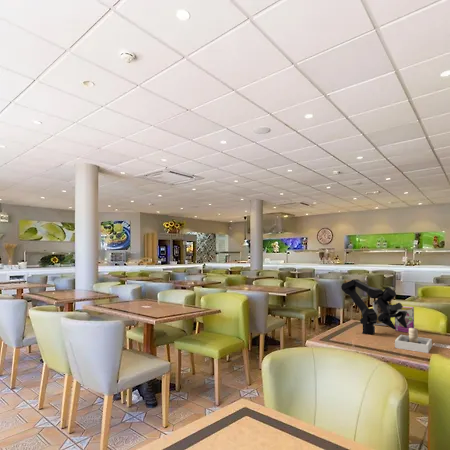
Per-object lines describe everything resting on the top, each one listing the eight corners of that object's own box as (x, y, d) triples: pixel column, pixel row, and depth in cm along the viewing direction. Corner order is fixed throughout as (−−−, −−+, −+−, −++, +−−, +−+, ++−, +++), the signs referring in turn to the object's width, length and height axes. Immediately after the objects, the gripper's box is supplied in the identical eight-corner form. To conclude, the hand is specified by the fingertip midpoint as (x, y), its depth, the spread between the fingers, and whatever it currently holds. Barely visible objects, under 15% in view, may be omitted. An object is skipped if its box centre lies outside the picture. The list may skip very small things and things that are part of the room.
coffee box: (386, 323, 253) (386, 301, 254) (387, 325, 247) (387, 302, 248) (373, 323, 256) (372, 300, 257) (374, 324, 250) (373, 302, 250)
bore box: (395, 347, 194) (394, 340, 194) (400, 341, 206) (400, 334, 207) (428, 353, 184) (427, 345, 184) (431, 346, 197) (431, 338, 197)
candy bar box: (394, 331, 231) (394, 306, 232) (395, 329, 235) (395, 305, 236) (414, 333, 225) (413, 307, 226) (414, 331, 229) (413, 306, 230)
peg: (411, 348, 193) (410, 329, 194) (408, 345, 198) (407, 327, 198) (419, 348, 193) (419, 329, 194) (416, 345, 197) (415, 328, 198)
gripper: (381, 299, 205) (397, 322, 194) (403, 297, 213) (420, 319, 202) (371, 310, 212) (386, 333, 201) (393, 308, 219) (409, 329, 209)
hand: (401, 328), depth 203 cm, fingers open, 9 cm apart
